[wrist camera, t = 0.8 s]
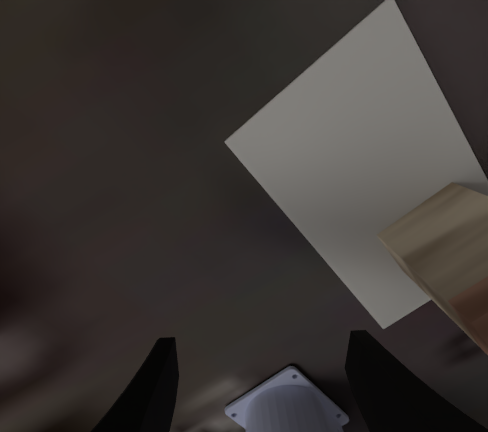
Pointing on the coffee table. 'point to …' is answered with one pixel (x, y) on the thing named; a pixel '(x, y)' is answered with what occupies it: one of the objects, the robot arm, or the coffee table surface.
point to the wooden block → (448, 255)
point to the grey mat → (360, 154)
